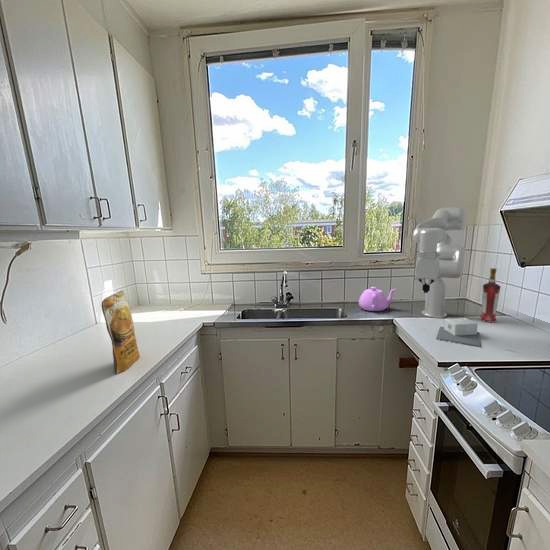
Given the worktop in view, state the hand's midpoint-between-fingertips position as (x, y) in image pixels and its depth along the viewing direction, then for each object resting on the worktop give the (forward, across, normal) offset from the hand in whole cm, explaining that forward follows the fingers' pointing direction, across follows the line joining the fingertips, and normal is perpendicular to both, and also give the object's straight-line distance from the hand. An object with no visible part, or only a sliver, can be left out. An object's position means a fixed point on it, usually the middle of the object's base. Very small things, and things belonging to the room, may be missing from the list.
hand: (425, 292), depth 141 cm
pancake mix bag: (+12, +90, +104) cm, 139 cm away
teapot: (+20, +29, -21) cm, 41 cm away
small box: (+15, -11, +5) cm, 19 cm away
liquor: (+20, -27, -28) cm, 43 cm away
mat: (+18, -15, +6) cm, 24 cm away
